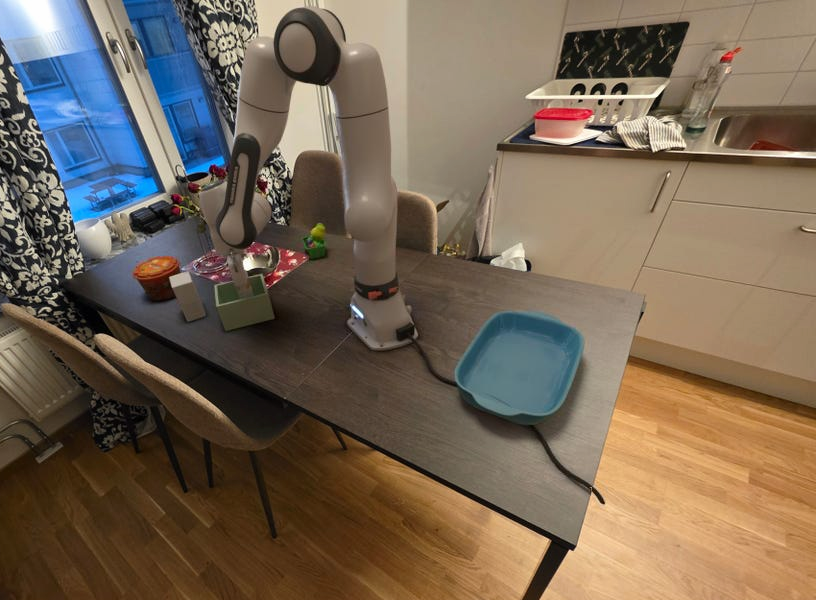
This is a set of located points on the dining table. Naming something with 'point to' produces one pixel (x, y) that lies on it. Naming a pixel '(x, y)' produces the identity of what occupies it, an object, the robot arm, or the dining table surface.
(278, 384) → the dining table surface
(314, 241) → the fruit basket
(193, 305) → the small box
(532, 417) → the casserole dish
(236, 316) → the bin
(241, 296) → the sprinkles bottle
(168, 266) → the food container
